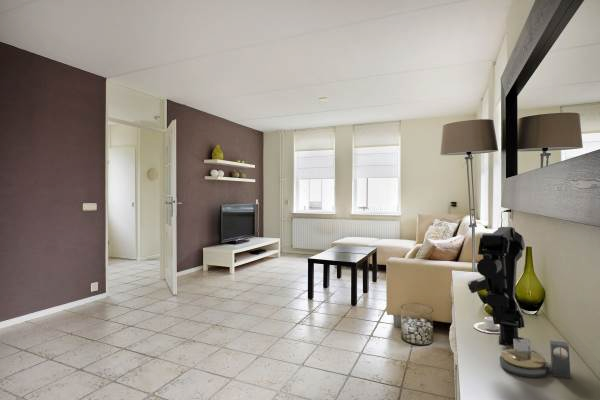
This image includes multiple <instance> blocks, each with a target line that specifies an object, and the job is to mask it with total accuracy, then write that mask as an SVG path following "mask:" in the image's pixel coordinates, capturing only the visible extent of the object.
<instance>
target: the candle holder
mask: <svg viewBox="0 0 600 400" xmlns="http://www.w3.org/2000/svg"><path fill="white" fill-rule="evenodd" d="M479 326H484V327H485V329H486V330H487V331H486V330H482V329H481V328H480V327H479ZM473 328H475V330H478V331H480V332H483V333H487V334H500V331H497V330H498V328H500V327H499V324H494V321H493V316H486V317H484V321H483V322H481V321H480V322H476V323H475V324H473Z"/></svg>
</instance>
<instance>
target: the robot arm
mask: <svg viewBox="0 0 600 400" xmlns="http://www.w3.org/2000/svg"><path fill="white" fill-rule="evenodd" d="M524 251H525V240H524V238H523V236H522V234H520V233H519V232H517V231H516V230H515V227H512V226H499V227H498V228H497V229H496V230H495V231H493V232H492V233H491V232H484V233H482V235H481V236H480V237H479V245H478V249H477V255H480V256H482V258H481V259H480V260H478V262H477V264H476V270H477V272H478V273H479V274H480V276H482V277H479V278H475V279H472V280H470V281H468V282H467V286H468V289H469V290H470V294H475V293H476V292H477V293H478V292H480V291H483V290H485V292H486V294H485V304H486V305H487V306H489V307H490V308H491V309H492V310H491V313H492V316H491V317H493V321H494V324H499V327H498V328H499V332H500V333H499V335H498V343H499V344H501V345H508V346H514V343H513V338H516V337H520V336H519V329H520V330H521V329H522V328H525V319H524V315H523V314H522V311H521V310H520V306H519V304H518V303H517V301H516V284H517V283H516V281H517V268H518V267H517V265H518V261H519V260H520V259H521V258H522V257H523V252H524Z"/></svg>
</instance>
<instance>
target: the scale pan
mask: <svg viewBox="0 0 600 400" xmlns="http://www.w3.org/2000/svg"><path fill="white" fill-rule="evenodd" d="M501 355H502V359H503V360H504V361H506V362H507V363H509V364H511V365H514V366H517V367H521V368H527V369H540V368H543V367H545V366H546V362H547V360H546V358H545V357H544V356H542V355H541V354H539V353H537V352H534V351H531V359H530V360H522V359H518V358H516V357H515V356H514V348H508V349H505V350H503V351H502V352H501Z"/></svg>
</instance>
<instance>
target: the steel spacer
mask: <svg viewBox="0 0 600 400" xmlns="http://www.w3.org/2000/svg"><path fill="white" fill-rule="evenodd" d="M513 343H514V345H513V349H514V356H515V357H516V358H518V359H522V360H530V359H531V352H532V344H531V339H528V338H525V337H521V336H519V337H516V338H513Z"/></svg>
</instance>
